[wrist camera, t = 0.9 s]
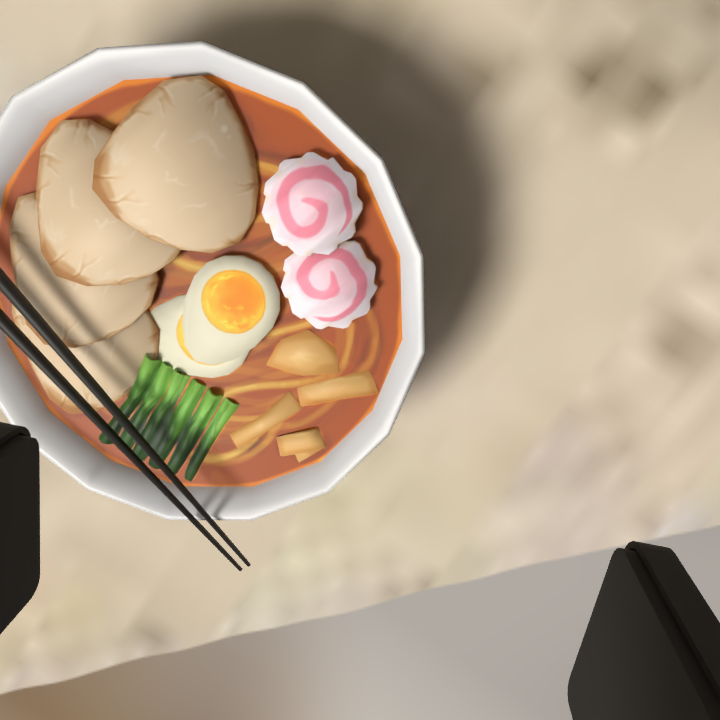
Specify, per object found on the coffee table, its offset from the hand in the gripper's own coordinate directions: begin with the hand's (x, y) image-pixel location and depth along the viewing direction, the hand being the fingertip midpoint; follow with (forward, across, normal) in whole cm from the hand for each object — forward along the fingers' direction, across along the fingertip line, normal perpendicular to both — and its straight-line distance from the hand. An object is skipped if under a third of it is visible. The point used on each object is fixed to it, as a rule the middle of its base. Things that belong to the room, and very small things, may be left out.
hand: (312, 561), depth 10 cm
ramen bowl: (+27, +9, +2) cm, 28 cm away
